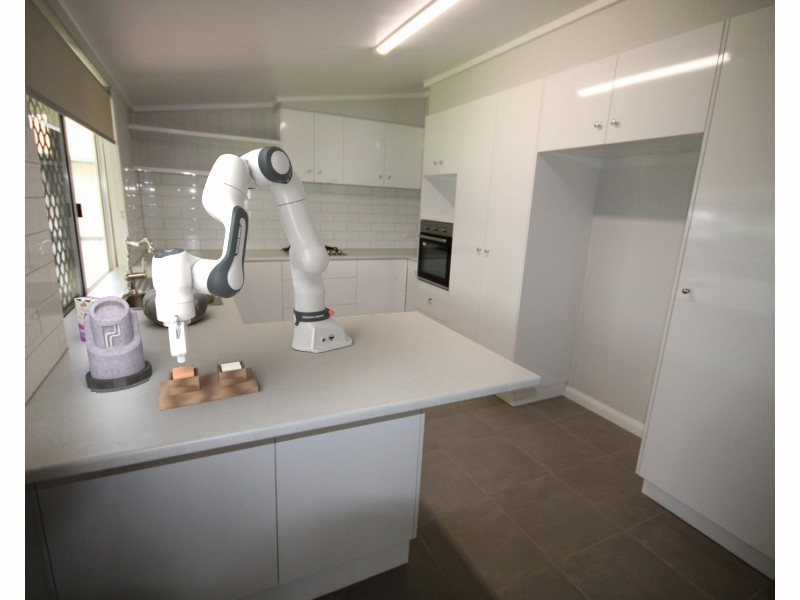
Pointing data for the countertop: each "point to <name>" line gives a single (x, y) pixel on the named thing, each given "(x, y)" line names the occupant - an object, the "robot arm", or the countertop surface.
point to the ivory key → (230, 366)
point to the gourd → (150, 306)
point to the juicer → (114, 347)
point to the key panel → (206, 387)
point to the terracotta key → (183, 372)
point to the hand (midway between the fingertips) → (181, 360)
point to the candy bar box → (83, 311)
